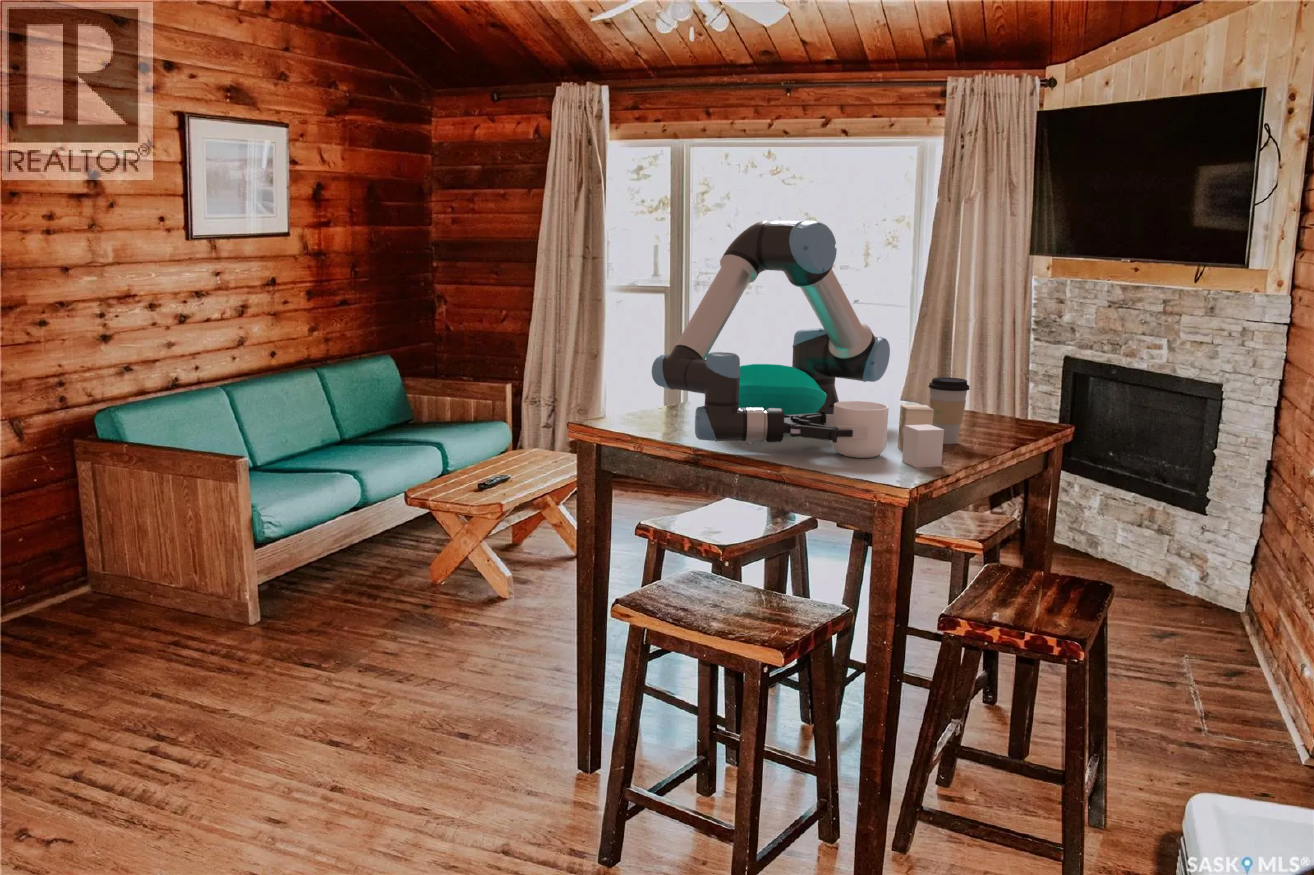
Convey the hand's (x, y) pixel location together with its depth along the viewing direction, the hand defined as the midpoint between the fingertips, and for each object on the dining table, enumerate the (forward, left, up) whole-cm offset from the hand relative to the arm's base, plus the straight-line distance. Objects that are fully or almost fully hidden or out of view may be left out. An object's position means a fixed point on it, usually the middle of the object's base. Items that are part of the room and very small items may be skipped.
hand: (860, 426), depth 229 cm
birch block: (-6, +14, -6) cm, 17 cm away
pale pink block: (+8, +12, -6) cm, 15 cm away
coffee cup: (-16, +24, -7) cm, 30 cm away
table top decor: (-32, -16, -7) cm, 37 cm away
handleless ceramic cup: (0, 0, -7) cm, 7 cm away
